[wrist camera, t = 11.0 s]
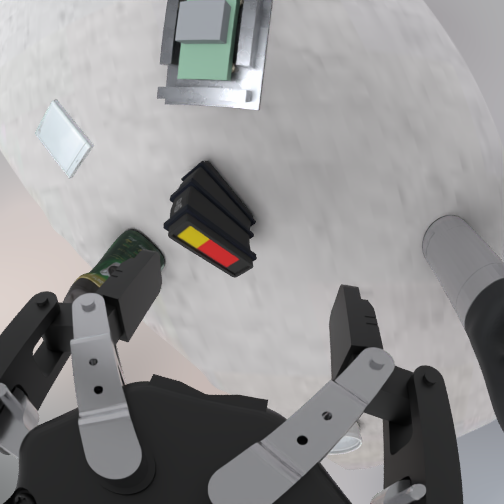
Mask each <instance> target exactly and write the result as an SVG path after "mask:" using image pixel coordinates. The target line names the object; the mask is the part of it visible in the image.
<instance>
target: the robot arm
mask: <svg viewBox="0 0 504 504" xmlns="http://www.w3.org/2000/svg"><path fill="white" fill-rule="evenodd" d="M422 248H423V254H424V256H425V258H426V260H427V262H428V263H429V265H430V267H431V268H432V270H433V272H434V273H435V275H436V277H437V279H438V280H439V282H440V284H441V286H442V287H443V289H444V291H445V293H446V294H447V296H448V298H449V300H450V302H451V304H452V306H453V307H454V309H455V311H456V313H457V315H458V317H459V319H460V321H461V323H462V325H463V327H464V329H465V331H466V333H467V335H468V337H469V339H470V342H471V345H472V348H473V350H474V352H475V355H476V357H477V359H478V362H479V365H480V367H481V370H482V373H483V376H484V379H485V383H486V386H487V389H488V393H489V396H490V400H491V403H492V406H493V409H494V412H495V415H496V417H497V420H498V422H499V424H500V426H501V428H502V430H503V431H504V262H503V261H502V260H501V259H500V258H499V256H498V255H497V254H496V253H495V252H494V251H493V250H492V249H491V248H490V247H489V246H488V244H487V243H486V242H485V241H484V240H483V239H482V238H481V237H480V236H479V235H478V234H477V233H476V232H475V231H474V230H473V229H472V228H471V227H470V226H469V225H468V224H467V223H466V222H465V221H464V220H463V219H461V218H460V217H457V216H451V215H449V216H444V217H442V218H440V219H438V220H437V221H435V222H434V223H433V224H432V225H431V226H430V227H429V229H428V230H427V232H426V234H425V236H424V240H423V247H422ZM161 284H162V277H161V263H160V254H159V252H155V251H150V250H145V249H143V250H141V251H140V252H139V253H138V254H137V256H136V257H135V258H130V259H128V260H126V261H124V262H122V263H121V264H120V265H119V266H118V267H117V269H116V271H114V272H113V273H112V274H111V276H109V277H108V279H107V280H106V281H105V282H104V283H103V284H102V285H101V286H100V288H99V289H98V290H97V291H96V292H95V293H87V294H84V295H81V296H79V297H78V298H77V299H76V300H75V301H74V302H73V303H58V300H57V297H56V295H55V294H54V293H52V292H41V293H38V294H36V295H35V296H33V297H32V298H31V299H30V300H29V302H28V303H27V304H26V305H25V306H24V307H23V308H22V310H21V311H20V312H19V313H18V314H17V316H16V317H15V318H14V319H13V320H12V321H11V323H10V324H9V325H8V326H7V328H6V329H5V330H4V331H3V332H2V334H1V335H0V452H1V453H3V454H6V455H12V456H14V457H16V458H17V459H18V460H19V475H18V482H17V487H16V489H15V491H14V493H13V495H12V496H11V497H10V498H9V499H8V500H7V501H6V502H5V503H3V504H352V503H351V502H350V501H349V500H348V498H347V497H346V496H345V494H344V493H343V492H342V491H341V489H340V488H339V487H338V485H337V484H336V483H335V481H334V480H333V479H332V478H331V476H330V475H329V474H328V472H327V471H326V470H325V468H324V467H323V466H322V465H321V463H320V462H321V461H322V460H323V459H324V458H325V457H326V456H327V454H328V453H329V452H330V451H331V450H332V449H333V448H334V447H335V446H336V444H337V443H338V442H339V441H340V440H341V439H342V438H343V437H344V435H345V434H346V433H347V432H348V431H349V430H350V428H351V427H352V426H353V425H354V424H355V422H356V421H357V420H358V419H359V418H360V416H361V415H362V414H363V413H367V414H370V415H373V416H376V417H378V418H381V419H383V437H384V490H382V491H381V492H379V493H377V494H376V495H375V496H374V498H373V499H372V501H371V503H370V504H463V494H462V493H463V492H462V480H461V470H460V462H459V454H458V447H457V441H456V435H455V429H454V424H453V418H452V413H451V409H450V404H449V399H448V395H447V391H446V387H445V383H444V379H443V377H442V375H441V374H440V373H439V371H437V370H436V369H435V368H433V367H430V366H420V367H418V368H417V369H416V370H415V371H414V373H413V372H410V371H408V370H405V369H402V368H399V367H397V366H395V364H394V360H393V358H392V357H391V355H390V354H389V353H387V352H386V351H384V350H383V345H382V341H381V336H380V332H379V328H378V326H377V325H378V323H377V319H376V315H375V311H374V308H373V307H372V305H371V304H370V303H369V301H368V300H363V299H361V296H360V292H359V288H358V287H355V286H348V285H341V286H340V288H339V291H338V294H337V297H336V300H335V303H334V306H333V308H332V311H331V315H330V321H329V330H330V348H331V372H332V380H330V381H329V382H328V383H327V384H326V385H325V386H324V387H322V388H321V389H320V390H319V391H318V392H317V393H316V394H315V395H314V396H313V397H312V398H311V399H310V400H309V401H308V402H307V403H305V404H304V405H303V406H302V407H301V408H300V409H299V410H298V411H297V412H295V413H294V414H293V415H292V416H291V417H290V418H289V419H286V418H284V417H283V416H281V415H280V414H278V413H277V412H275V411H273V410H271V409H268V408H267V403H268V400H265V399H259V398H253V397H248V396H242V395H207V394H204V393H202V392H200V391H198V390H196V389H194V388H192V387H190V386H188V385H186V384H184V383H182V382H180V381H176V380H172V379H169V378H165V377H162V376H158V375H155V374H153V376H152V378H151V380H150V382H148V381H143V382H134V383H130V384H126V381H125V377H124V374H123V370H122V366H121V362H120V358H119V354H118V350H117V346H116V343H117V342H118V340H122V341H126V342H129V340H130V338H131V337H132V335H133V334H134V332H135V330H136V329H137V327H138V326H139V324H140V322H141V321H142V319H143V318H144V316H145V314H146V313H147V311H148V310H149V308H150V306H151V305H152V303H153V302H154V300H155V299H156V297H157V296H158V294H159V292H160V289H161ZM41 337H42V338H43V340H44V341H43V342H42V344H41V345H40V347H39V348H38V350H37V351H36V352H35V354H34V355H33V349H34V347H35V345H36V344H37V342H38V341H39V339H40V338H41ZM70 355H71V356H72V367H73V376H74V383H75V391H76V397H77V403H78V408H76V409H74V410H72V411H69V412H67V413H65V414H63V415H61V416H59V417H56V418H54V419H52V420H50V421H47V422H45V423H43V424H41V425H38V422H39V414H38V410H39V408H40V406H41V404H42V402H43V400H44V399H45V397H46V395H47V393H48V392H49V390H50V388H51V386H52V384H53V383H54V381H55V380H56V378H57V376H58V374H59V373H60V371H61V370H62V368H63V366H64V365H65V363H66V361H67V360H68V358H69V356H70Z"/></svg>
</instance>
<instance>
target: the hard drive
mask: <svg viewBox="0 0 504 504" xmlns="http://www.w3.org/2000/svg"><path fill="white" fill-rule="evenodd" d="M35 134H36V136H37V137H38V138H39V140H40V141H41V142H42V144H43V145H44V146H45V148H46V149H47V151H48V152H49V153H50V154H51V156H52V157H53V158H54V160H55V161H56V162H57V164H58V165H59V166H60V167H61V169H62V170H63V171H64V172H65V174H66V175H67V176H68V177H69V178H72V177H73V175H74V174H75V172H76V171H77V169H78V168H79V166H80V165H81V163H82V162H83V160H84V159H85V157H86V156H87V155H88V153H89V152H90V150H91V149H92V147H93V146H94V145H93V144H92V142H91V141H90V140H89V139H88V137H87V136H86V135H85V134H84V133H83V131H82V130H81V129H80V128H79V127H78V125H77V124H76V123H75V122H74V120H73V119H72V118H71V117H70V116H69V114H68V113H67V112H66V111H65V109H64V108H63V107H62V106H61V104H60V103H59V102H58V101H57V100H53V101H52V103H51V104H50V106H49V108H48V109H47V111H46V113H45V115H44V117H43V119H42V120H41V122H40V124H39V126H38V128H37V130H36V132H35Z"/></svg>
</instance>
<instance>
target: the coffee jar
mask: <svg viewBox="0 0 504 504" xmlns="http://www.w3.org/2000/svg"><path fill="white" fill-rule="evenodd" d="M143 249H145V250H150V251H155V252H159V250H158V249H157V248H156V247H155V246H154V245H153V244H152V243H151V242H150V241H149V240H148V239H146V238H145V237H144V236H143V235H141V234H140V233H139V232H137V231H134V230H128V231H125V232H124V233H123V234H121V235H120V236H119V237H118V239H117V240H116V241H115V242H114V243H113V244H112V246H111V247H110V248H109V249H108V251H107V252H106V253H105V255H104V256H103V257H102V259H101V260H100V261H99V262H98V264H97V265H96V266H95V267H94V268H93V269H92V270H91V271H90V272H89V273H86V274H83V275H81V276H80V277H79V278H77V279H76V281H75V282H74V283H73V285H72V286H71V288H70V290H69V292H68V293H67V295H66V297H65V299H64V301H63V303H73V302H74V301H75V300H76V299H77V298H78V297H79V296H81V295H84V294H87V293H95V292H96V291H97V290H98V289H99V288H100V286H101V285H102V284H103V283H104V282H105V281H106V280H107V279H108V277H109V276H111V274H112V273H113V272H114V271H116V269H117V267H118V266H119V265H120V264H121V263H122V262H124V261H126V260H128V259H130V258H135V257H136V256H137V254H138V253H139V252H140V251H141V250H143ZM159 254H160V263H161V271H162V269H163V267H164V258H163V256H162V254H161V253H160V252H159Z"/></svg>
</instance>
